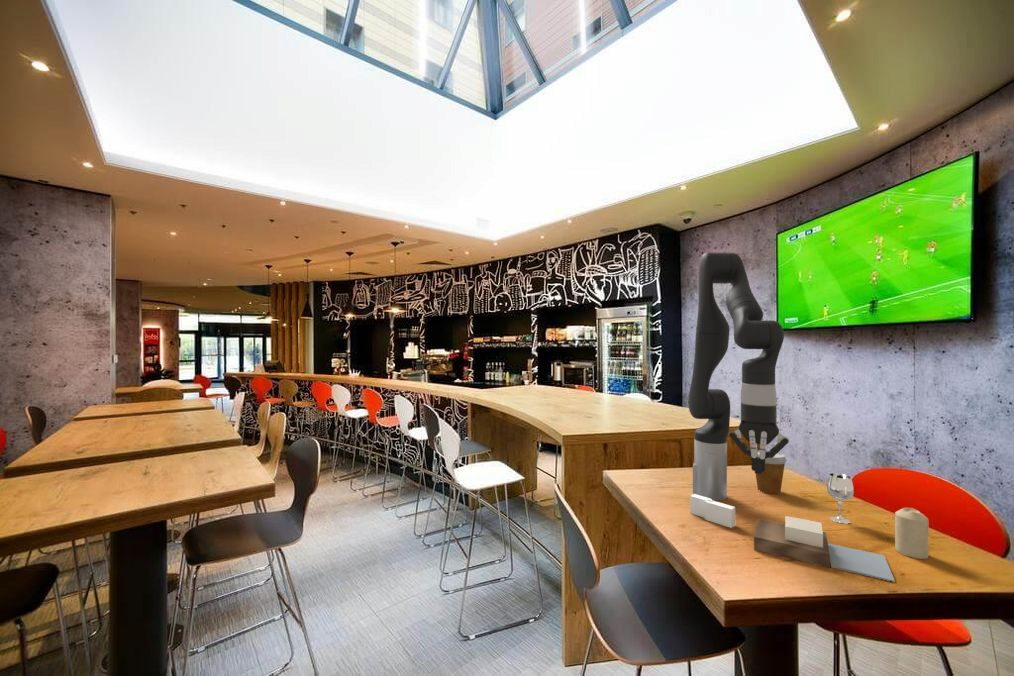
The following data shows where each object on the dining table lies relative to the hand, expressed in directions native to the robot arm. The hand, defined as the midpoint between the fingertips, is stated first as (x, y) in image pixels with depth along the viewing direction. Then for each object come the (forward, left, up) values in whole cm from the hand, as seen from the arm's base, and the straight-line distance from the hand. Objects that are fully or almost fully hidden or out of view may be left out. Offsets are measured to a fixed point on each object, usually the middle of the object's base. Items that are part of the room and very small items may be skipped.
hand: (758, 473), depth 103 cm
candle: (+29, +13, -17) cm, 36 cm away
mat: (+19, +1, -16) cm, 25 cm away
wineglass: (+17, +26, -17) cm, 35 cm away
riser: (+6, 0, -16) cm, 18 cm away
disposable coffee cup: (0, +41, -17) cm, 44 cm away
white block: (+9, 0, -13) cm, 16 cm away
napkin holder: (-12, +7, -17) cm, 22 cm away
